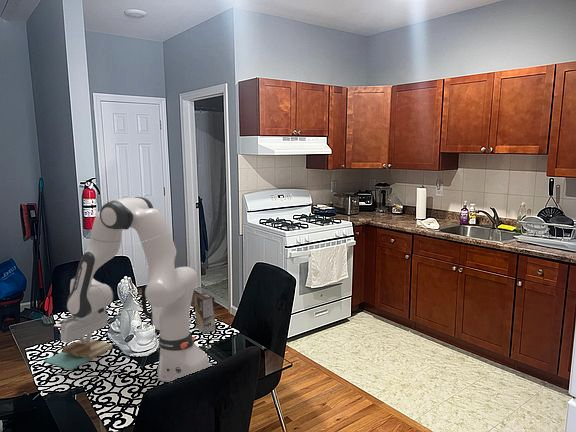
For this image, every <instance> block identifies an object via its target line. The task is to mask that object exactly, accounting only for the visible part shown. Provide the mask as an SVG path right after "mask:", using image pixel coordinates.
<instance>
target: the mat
mask: <svg viewBox="0 0 576 432" xmlns="http://www.w3.org/2000/svg"><path fill="white" fill-rule="evenodd" d="M90 361H91V360H90V359H87V358H84V357H80V356H79V357H76V356H73V355H70V354H67V353H64V352H63V351H61V352H59V353H57V354H55V355H53V356H50V357H48V358H46V359H44V360H43V362H44V363H47V364H49V365H53V366H54V367H55V366H56V367H59V368H62V369H65V370H69V371H73V370H75V369H76V367H77V368H78V366H79V367H80V365H81V366H83V365H85V364H86V363H88V362H90ZM84 363H85V364H84ZM82 364H83V365H82Z"/></svg>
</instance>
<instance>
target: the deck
mask: <svg viewBox="0 0 576 432" xmlns="http://www.w3.org/2000/svg"><path fill="white" fill-rule="evenodd" d="M85 339H86V337H85V338H84V340H85ZM76 342H78V343H81V340H80V339H79V340H78V341H76ZM86 345H88V346H90V350H91V351H89V352H87V353H85V354H83V355H81V356H80V357H84V358H87V359H90V361H92V360H94V359H96V358H98V357H100V356H102V355H103V353H104V354H105V352H106V351H108V350H110V349H112V348H113V344H112V343H107V342H104V341H100V340H98V339H97V340H96V339H93V338H91V339H90V343H88V344H86ZM112 350H113V349H112ZM110 351H111V350H110ZM108 352H109V351H108ZM106 353H107V352H106ZM101 354H102V355H101ZM99 355H100V356H99ZM97 356H98V357H97ZM93 358H94V359H93Z"/></svg>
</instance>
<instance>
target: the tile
mask: <svg viewBox="0 0 576 432" xmlns="http://www.w3.org/2000/svg"><path fill="white" fill-rule="evenodd" d="M89 351H91V350H90V346H88V345H85V344H82V343H78V342H77V341H74V342H72V343H70V344H69V343H68V345H65V346H63V347H62V352H64V353H67V354H70V355H73V356H76V357H79V356H81V355H83V354H85V353H87V352H89Z"/></svg>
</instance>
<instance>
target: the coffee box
mask: <svg viewBox="0 0 576 432" xmlns="http://www.w3.org/2000/svg"><path fill="white" fill-rule="evenodd" d="M215 306H216V305H215V297H214V296H212V295H211V294H208V293H207V292H203V293H199V294H195V295H194V310H195V328H196V329H198V330H199V331H200V332H202V334H205V333H209V332H213V331H215V330H216V309H215V308H216V307H215Z"/></svg>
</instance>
